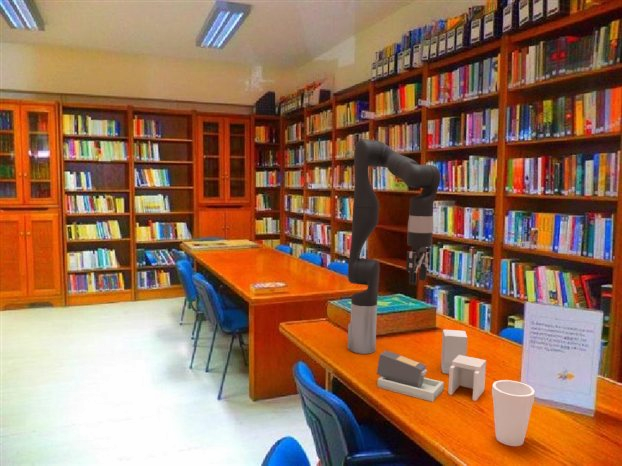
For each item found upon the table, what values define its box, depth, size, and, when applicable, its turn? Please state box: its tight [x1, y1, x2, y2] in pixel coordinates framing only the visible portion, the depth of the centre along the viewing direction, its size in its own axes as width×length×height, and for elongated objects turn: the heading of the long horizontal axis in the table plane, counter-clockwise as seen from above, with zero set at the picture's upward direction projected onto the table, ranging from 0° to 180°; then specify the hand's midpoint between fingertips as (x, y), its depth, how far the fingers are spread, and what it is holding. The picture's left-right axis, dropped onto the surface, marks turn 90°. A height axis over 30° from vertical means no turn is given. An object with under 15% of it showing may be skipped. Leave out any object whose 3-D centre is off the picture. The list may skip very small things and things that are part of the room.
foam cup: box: [491, 379, 536, 447], centre depth 124 cm, size 10×9×13 cm
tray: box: [377, 376, 445, 403], centre depth 152 cm, size 17×10×2 cm, turn 58°
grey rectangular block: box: [376, 349, 428, 388], centre depth 153 cm, size 4×14×7 cm, turn 57°
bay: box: [447, 355, 487, 402], centre depth 151 cm, size 8×9×9 cm
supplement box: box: [440, 329, 468, 375], centre depth 167 cm, size 7×7×13 cm
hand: (417, 282), depth 159 cm, fingers open, 8 cm apart
